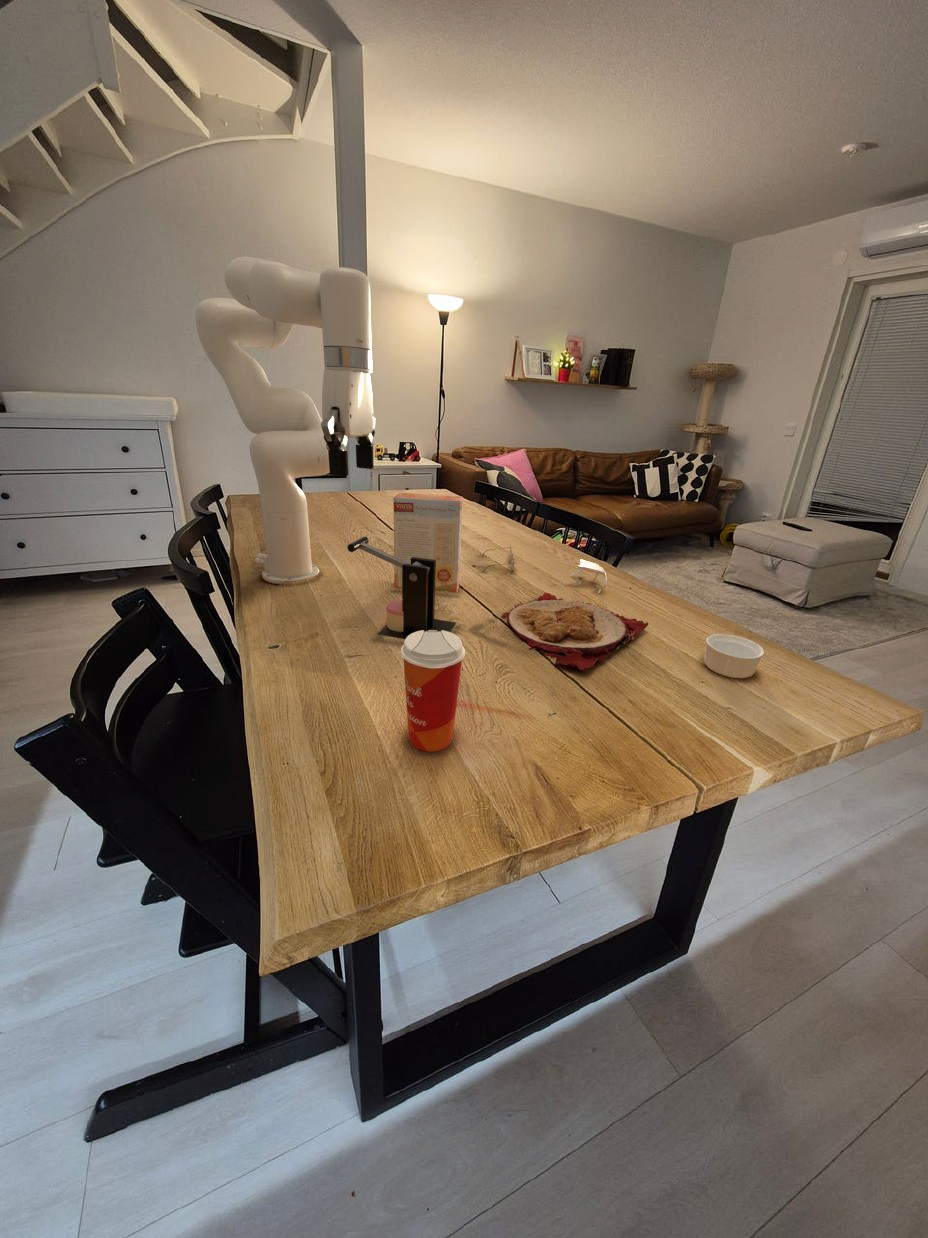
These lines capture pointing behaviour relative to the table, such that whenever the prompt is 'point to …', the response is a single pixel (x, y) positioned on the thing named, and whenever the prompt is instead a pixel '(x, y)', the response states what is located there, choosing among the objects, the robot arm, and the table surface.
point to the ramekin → (732, 655)
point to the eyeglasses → (508, 556)
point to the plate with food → (572, 629)
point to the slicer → (418, 600)
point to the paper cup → (431, 686)
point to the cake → (395, 615)
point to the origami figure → (589, 567)
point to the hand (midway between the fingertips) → (352, 471)
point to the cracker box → (429, 535)
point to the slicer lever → (377, 552)
